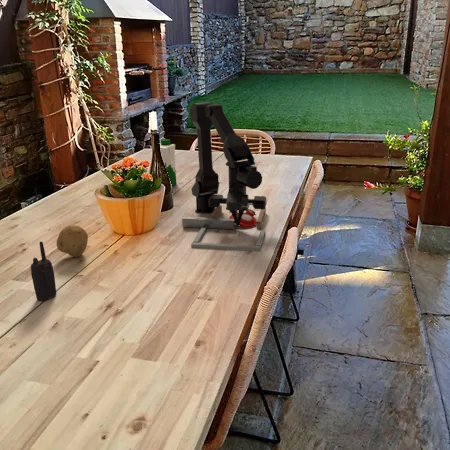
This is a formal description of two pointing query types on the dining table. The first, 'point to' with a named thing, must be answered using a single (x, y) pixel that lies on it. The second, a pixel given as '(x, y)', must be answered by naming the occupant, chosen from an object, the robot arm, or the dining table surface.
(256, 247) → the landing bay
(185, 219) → the bar
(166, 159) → the milk carton
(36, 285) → the two-way radio
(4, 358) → the dining table surface
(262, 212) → the stall
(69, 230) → the potato
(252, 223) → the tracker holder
